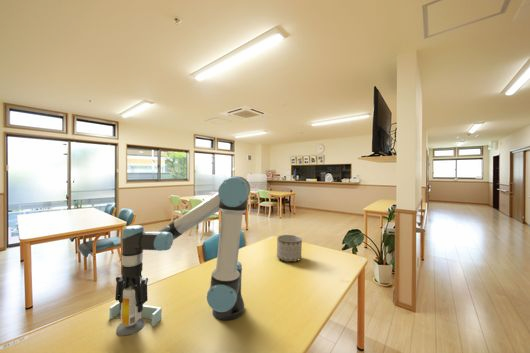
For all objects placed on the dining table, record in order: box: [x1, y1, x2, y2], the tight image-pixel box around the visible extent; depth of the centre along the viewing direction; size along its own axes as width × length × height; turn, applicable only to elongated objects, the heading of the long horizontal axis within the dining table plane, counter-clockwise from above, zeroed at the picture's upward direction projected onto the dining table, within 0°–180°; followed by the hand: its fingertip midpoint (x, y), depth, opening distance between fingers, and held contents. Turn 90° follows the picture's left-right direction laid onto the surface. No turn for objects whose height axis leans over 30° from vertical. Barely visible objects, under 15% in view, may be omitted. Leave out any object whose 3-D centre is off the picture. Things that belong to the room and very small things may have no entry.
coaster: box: [115, 317, 145, 337], centre depth 91 cm, size 10×10×1 cm
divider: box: [108, 301, 163, 327], centre depth 96 cm, size 22×5×5 cm, turn 80°
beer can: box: [121, 286, 138, 327], centre depth 91 cm, size 6×6×15 cm
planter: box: [276, 234, 303, 262], centre depth 172 cm, size 19×19×16 cm
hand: (130, 317), depth 91 cm, fingers closed on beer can, 6 cm apart
